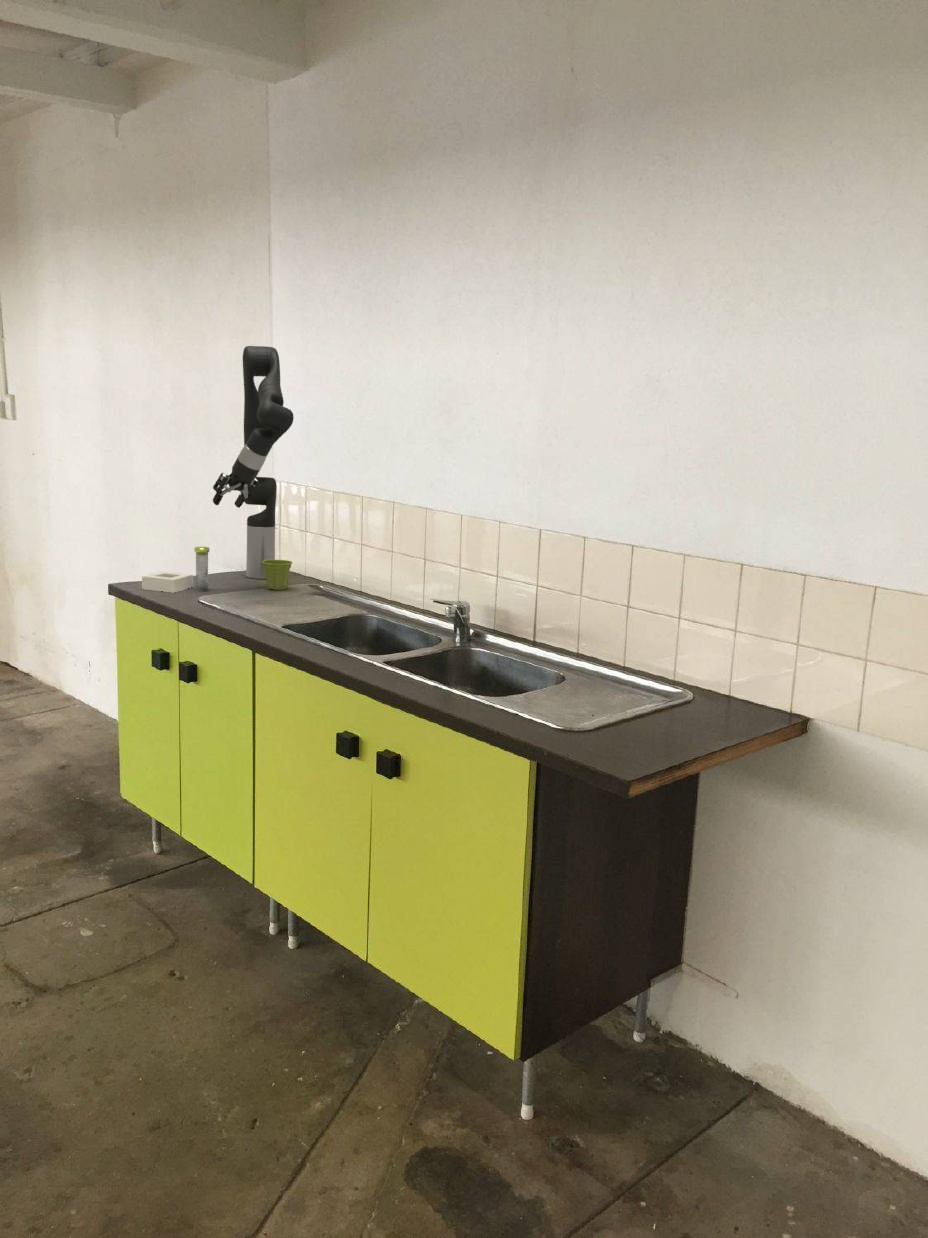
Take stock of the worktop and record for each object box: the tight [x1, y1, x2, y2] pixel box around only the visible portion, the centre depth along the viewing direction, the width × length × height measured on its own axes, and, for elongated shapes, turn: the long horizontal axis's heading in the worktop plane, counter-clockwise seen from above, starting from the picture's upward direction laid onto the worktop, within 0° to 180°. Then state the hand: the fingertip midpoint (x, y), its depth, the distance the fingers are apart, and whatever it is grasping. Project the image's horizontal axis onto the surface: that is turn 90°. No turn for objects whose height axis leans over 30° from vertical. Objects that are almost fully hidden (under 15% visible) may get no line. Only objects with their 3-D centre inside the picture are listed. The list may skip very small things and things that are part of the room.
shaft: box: [194, 546, 210, 592], centre depth 319 cm, size 4×4×13 cm
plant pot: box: [262, 559, 293, 591], centre depth 329 cm, size 9×9×9 cm
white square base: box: [141, 571, 194, 594], centre depth 320 cm, size 11×11×4 cm
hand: (226, 504), depth 318 cm, fingers open, 8 cm apart
